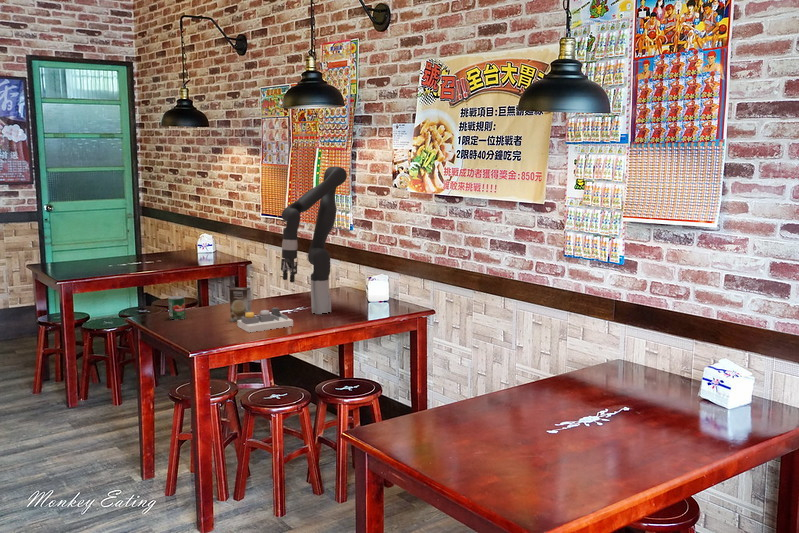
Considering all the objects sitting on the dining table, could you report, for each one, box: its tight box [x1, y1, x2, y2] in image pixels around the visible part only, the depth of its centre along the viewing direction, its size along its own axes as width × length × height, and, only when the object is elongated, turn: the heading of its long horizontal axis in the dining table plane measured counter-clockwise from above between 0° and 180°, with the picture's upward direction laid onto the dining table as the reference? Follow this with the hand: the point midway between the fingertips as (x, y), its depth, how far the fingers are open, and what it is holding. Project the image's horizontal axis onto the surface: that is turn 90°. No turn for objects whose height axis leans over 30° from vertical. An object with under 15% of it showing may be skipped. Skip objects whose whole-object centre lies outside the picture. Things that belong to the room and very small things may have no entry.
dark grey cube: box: [270, 307, 281, 317], centre depth 359 cm, size 3×3×4 cm
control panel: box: [237, 312, 294, 334], centre depth 352 cm, size 22×15×6 cm
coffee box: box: [229, 286, 252, 323], centre depth 365 cm, size 9×6×16 cm
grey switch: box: [260, 309, 270, 317], centre depth 352 cm, size 4×4×3 cm
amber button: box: [245, 311, 255, 319], centre depth 348 cm, size 4×4×3 cm
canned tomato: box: [167, 295, 187, 321], centre depth 371 cm, size 8×8×11 cm
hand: (288, 281), depth 369 cm, fingers open, 8 cm apart
